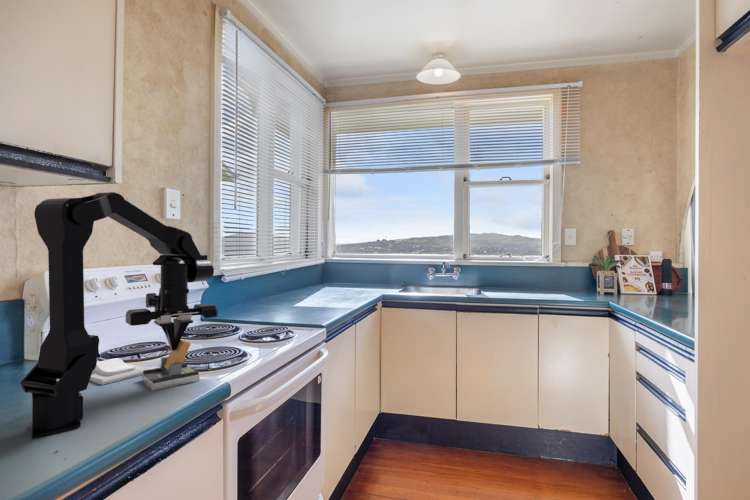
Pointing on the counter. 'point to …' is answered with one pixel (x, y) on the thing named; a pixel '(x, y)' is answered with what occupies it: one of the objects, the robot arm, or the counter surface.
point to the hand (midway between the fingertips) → (173, 350)
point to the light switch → (114, 371)
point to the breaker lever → (177, 354)
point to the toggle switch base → (169, 375)
